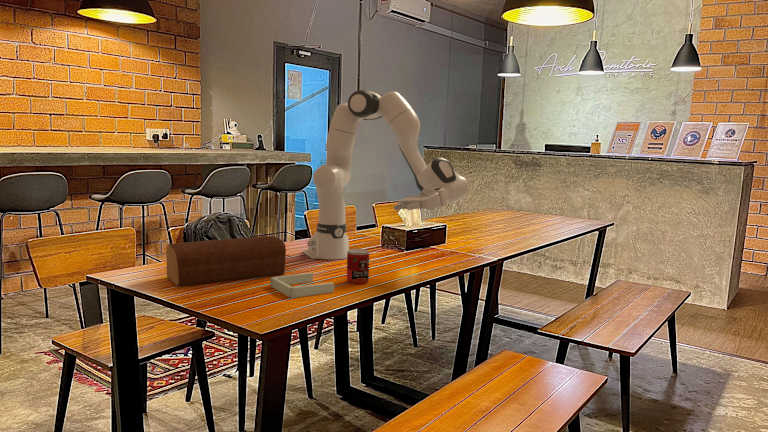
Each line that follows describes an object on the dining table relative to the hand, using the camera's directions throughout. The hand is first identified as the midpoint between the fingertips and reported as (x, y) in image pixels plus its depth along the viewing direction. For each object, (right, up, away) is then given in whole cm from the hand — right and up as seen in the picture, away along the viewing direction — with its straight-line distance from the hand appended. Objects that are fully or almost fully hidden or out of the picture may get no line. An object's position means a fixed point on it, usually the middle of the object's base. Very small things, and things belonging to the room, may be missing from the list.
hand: (401, 208), depth 214 cm
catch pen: (-33, -27, -19) cm, 47 cm away
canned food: (-16, -26, -8) cm, 31 cm away
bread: (-62, -25, -5) cm, 67 cm away
